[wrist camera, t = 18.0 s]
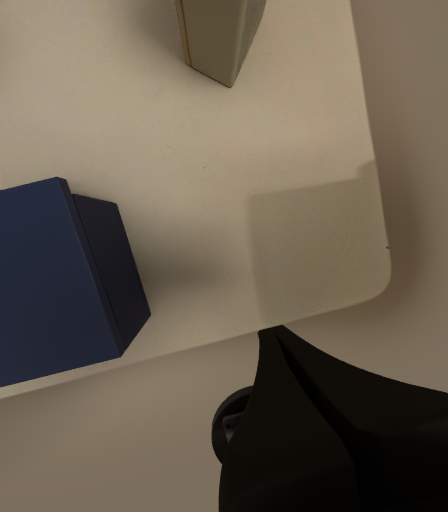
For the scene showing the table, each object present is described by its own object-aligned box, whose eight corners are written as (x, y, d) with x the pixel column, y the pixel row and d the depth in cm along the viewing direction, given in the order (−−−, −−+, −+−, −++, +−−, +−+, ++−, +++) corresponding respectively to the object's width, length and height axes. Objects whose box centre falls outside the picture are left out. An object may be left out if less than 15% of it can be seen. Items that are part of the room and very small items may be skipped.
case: (-14, 235, 19) (-115, 239, 13) (116, 203, 19) (73, 193, 13) (31, 344, 20) (-41, 391, 14) (151, 314, 20) (126, 349, 14)
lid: (-126, 226, 13) (-149, 226, 12) (66, 179, 13) (56, 176, 12) (-42, 392, 14) (-57, 402, 14) (126, 350, 14) (120, 357, 14)
